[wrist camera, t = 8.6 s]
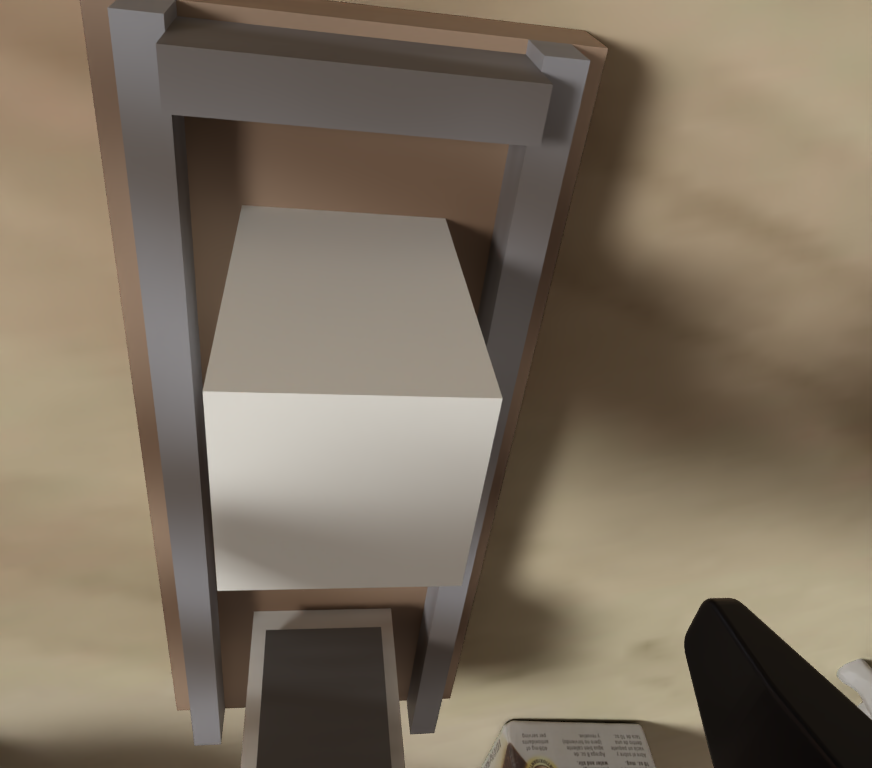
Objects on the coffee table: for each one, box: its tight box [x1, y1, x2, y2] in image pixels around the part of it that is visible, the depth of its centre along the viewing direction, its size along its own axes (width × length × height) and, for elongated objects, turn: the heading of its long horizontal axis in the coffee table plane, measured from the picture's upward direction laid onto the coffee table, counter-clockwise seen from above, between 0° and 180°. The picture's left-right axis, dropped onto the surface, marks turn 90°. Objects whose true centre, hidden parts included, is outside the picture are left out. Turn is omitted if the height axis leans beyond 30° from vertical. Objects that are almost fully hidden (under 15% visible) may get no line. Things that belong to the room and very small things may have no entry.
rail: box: [80, 0, 608, 768], centre depth 17 cm, size 21×9×8 cm, turn 173°
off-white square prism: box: [203, 205, 503, 591], centre depth 14 cm, size 4×4×6 cm
